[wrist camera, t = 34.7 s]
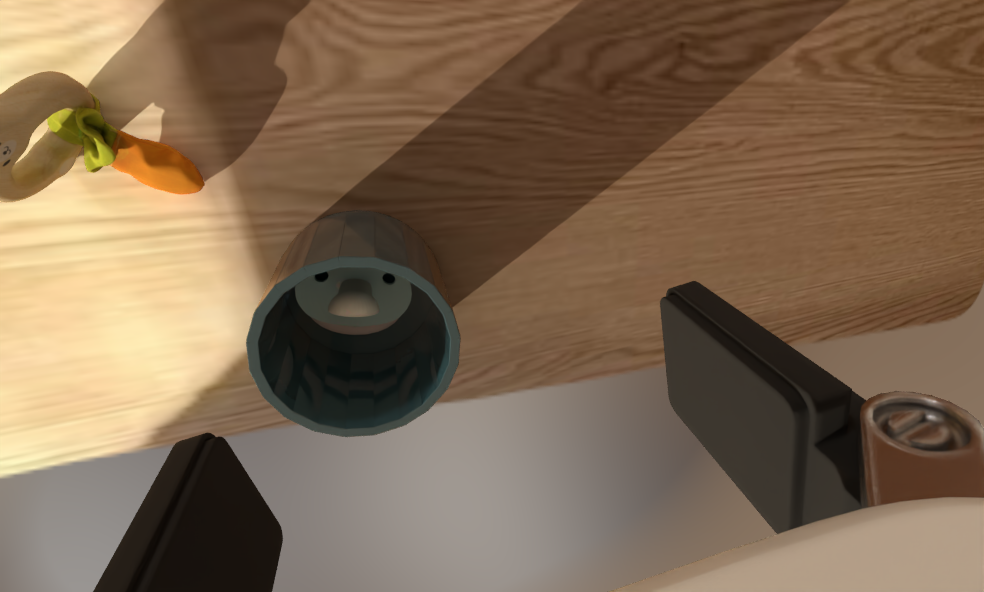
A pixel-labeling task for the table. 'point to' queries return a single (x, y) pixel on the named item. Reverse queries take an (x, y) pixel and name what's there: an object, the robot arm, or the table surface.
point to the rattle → (76, 141)
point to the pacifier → (354, 300)
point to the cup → (354, 358)
